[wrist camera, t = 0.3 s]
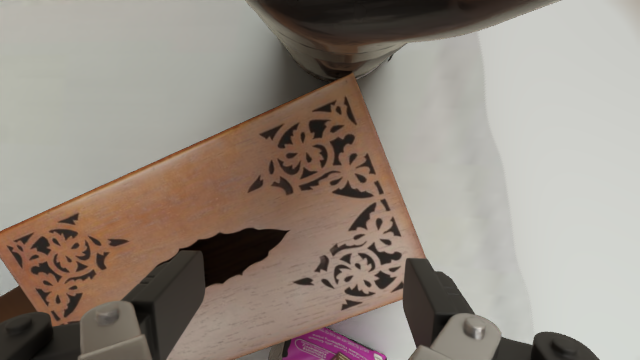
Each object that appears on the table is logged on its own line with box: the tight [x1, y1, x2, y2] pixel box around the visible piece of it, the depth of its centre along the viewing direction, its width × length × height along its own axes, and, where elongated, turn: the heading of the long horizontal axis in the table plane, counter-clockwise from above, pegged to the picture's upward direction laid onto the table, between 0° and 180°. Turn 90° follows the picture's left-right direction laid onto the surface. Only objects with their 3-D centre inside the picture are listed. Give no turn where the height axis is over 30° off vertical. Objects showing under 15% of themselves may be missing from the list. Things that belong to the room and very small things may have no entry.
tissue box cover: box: [0, 73, 426, 360], centre depth 27 cm, size 26×14×10 cm, turn 113°
